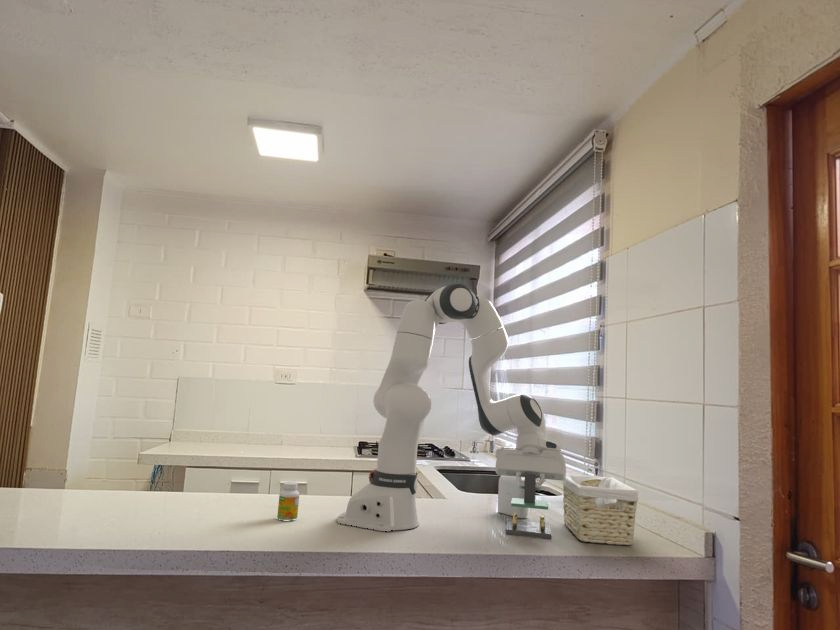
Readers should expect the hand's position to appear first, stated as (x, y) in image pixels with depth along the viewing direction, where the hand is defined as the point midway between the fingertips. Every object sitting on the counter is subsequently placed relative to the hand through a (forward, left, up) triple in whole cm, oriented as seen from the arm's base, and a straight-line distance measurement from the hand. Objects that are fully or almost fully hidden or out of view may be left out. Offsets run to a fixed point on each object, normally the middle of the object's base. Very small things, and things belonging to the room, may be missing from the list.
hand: (529, 488), depth 152 cm
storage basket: (+19, +6, -12) cm, 23 cm away
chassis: (0, +1, -12) cm, 12 cm away
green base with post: (0, +1, -5) cm, 5 cm away
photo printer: (-5, +19, -12) cm, 23 cm away
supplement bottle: (-65, -16, -12) cm, 68 cm away
